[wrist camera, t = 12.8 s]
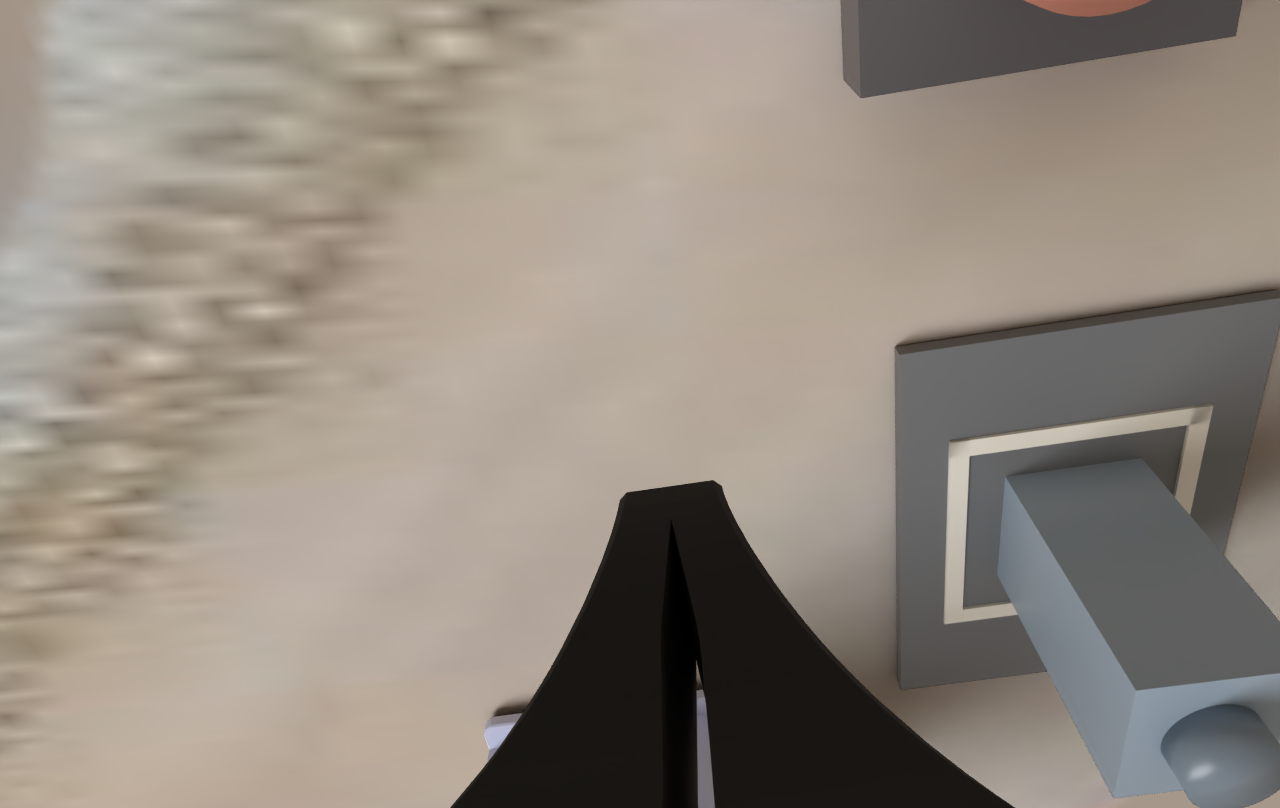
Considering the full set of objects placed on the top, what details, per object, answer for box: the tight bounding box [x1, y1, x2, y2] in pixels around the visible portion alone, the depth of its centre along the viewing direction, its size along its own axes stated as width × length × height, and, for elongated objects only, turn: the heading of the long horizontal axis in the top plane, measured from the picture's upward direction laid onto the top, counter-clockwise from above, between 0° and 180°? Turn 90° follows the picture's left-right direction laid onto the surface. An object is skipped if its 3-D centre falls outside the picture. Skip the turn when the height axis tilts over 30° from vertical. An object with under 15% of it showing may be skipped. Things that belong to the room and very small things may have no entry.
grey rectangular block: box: [997, 458, 1280, 808], centre depth 21 cm, size 4×4×8 cm
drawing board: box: [895, 290, 1280, 690], centre depth 25 cm, size 9×12×1 cm
